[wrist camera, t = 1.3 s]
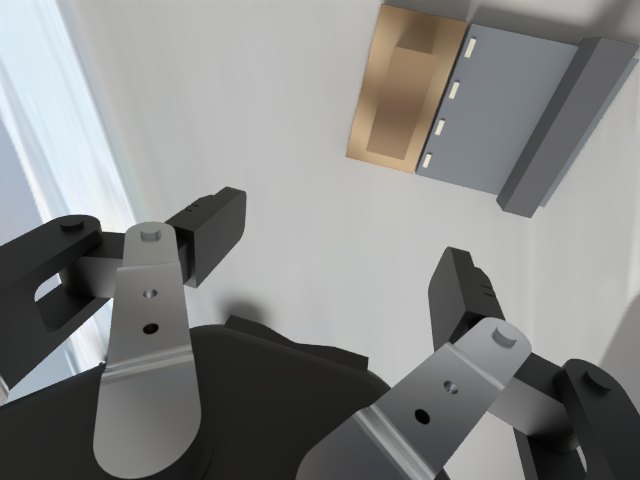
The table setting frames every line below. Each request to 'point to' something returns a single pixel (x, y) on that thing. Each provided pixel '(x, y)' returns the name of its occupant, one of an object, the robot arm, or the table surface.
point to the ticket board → (521, 113)
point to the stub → (402, 86)
